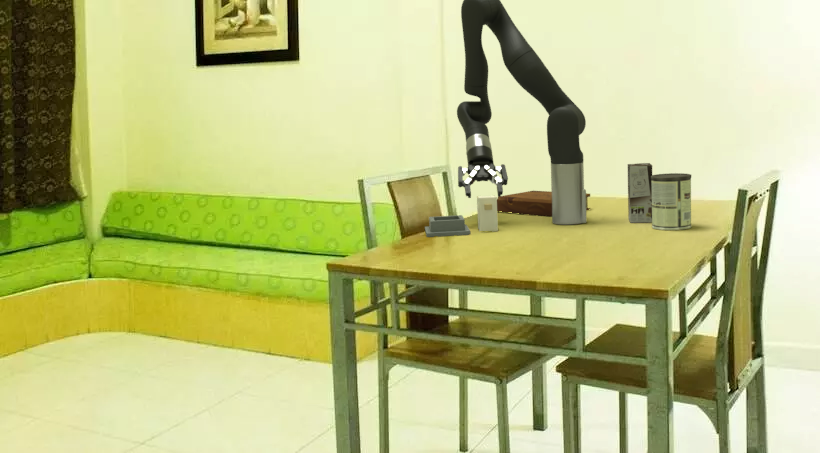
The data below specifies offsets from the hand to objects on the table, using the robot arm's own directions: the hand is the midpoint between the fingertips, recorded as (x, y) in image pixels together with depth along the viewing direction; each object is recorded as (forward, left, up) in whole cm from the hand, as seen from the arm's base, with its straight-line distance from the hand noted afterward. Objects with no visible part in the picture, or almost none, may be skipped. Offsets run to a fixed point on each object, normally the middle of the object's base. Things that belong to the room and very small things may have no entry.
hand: (484, 195), depth 243 cm
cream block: (0, +5, -9) cm, 10 cm away
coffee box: (-44, +2, -10) cm, 45 cm away
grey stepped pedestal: (+11, +5, -9) cm, 15 cm away
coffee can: (-48, +17, -10) cm, 52 cm away
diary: (-22, -29, -10) cm, 38 cm away
